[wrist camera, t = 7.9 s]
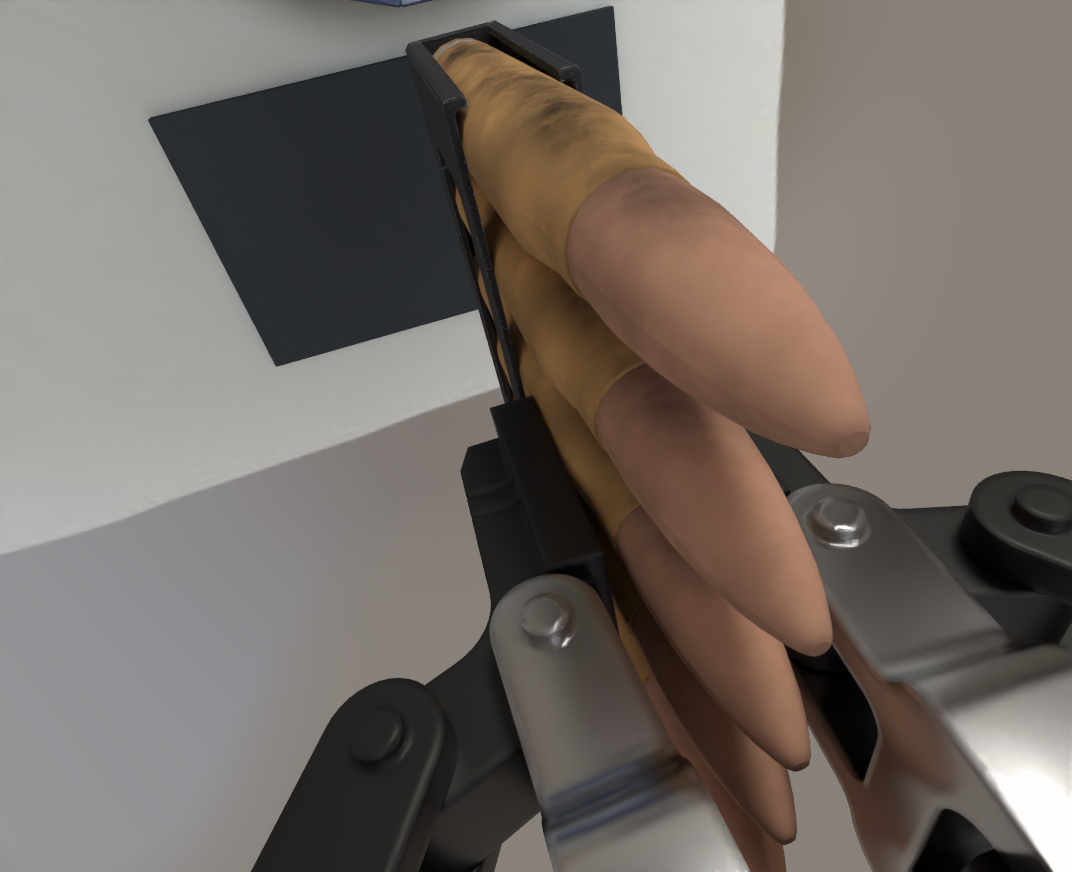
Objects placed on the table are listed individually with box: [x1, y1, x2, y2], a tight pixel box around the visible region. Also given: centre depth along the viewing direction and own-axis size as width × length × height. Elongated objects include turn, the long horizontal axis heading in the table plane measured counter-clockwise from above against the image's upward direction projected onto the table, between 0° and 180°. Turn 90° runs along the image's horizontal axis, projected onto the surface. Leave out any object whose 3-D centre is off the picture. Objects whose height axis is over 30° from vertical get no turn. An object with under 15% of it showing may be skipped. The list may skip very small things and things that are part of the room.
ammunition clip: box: [405, 20, 871, 872], centre depth 10 cm, size 11×2×12 cm, turn 12°
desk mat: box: [148, 6, 622, 367], centre depth 30 cm, size 20×12×1 cm, turn 101°
